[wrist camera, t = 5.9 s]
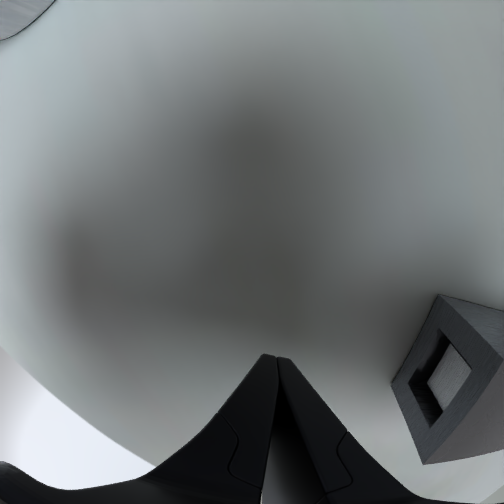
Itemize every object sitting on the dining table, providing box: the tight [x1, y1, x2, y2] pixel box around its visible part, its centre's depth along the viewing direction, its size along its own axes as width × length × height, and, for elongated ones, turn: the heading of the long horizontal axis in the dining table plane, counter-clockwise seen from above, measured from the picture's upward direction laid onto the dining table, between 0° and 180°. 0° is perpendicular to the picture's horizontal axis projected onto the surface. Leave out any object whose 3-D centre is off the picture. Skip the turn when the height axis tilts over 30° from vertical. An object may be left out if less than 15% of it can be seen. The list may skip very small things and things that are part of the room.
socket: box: [391, 294, 504, 465], centre depth 9 cm, size 6×5×5 cm
